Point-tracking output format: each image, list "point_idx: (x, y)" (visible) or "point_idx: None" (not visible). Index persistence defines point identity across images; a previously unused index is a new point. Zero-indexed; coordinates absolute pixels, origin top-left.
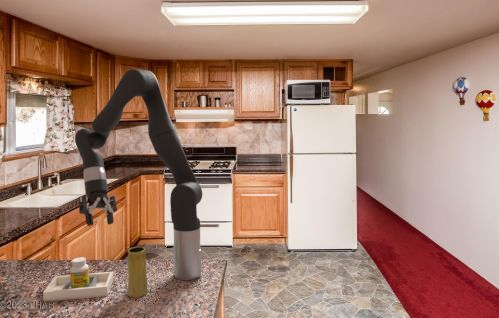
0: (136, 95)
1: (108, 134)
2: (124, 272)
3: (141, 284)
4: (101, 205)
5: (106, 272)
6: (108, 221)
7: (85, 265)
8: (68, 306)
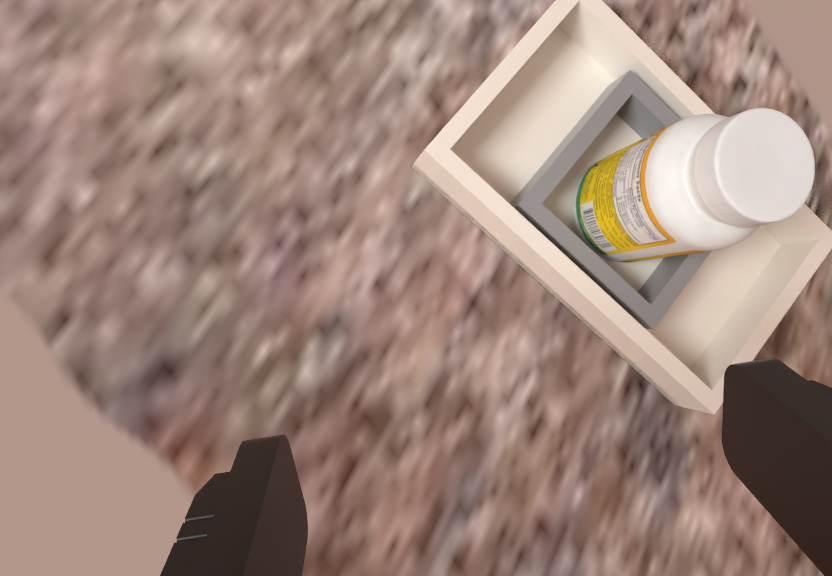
0: None
1: None
2: (285, 211)
3: None
4: None
5: (464, 176)
6: (296, 536)
7: (694, 138)
8: (731, 89)
